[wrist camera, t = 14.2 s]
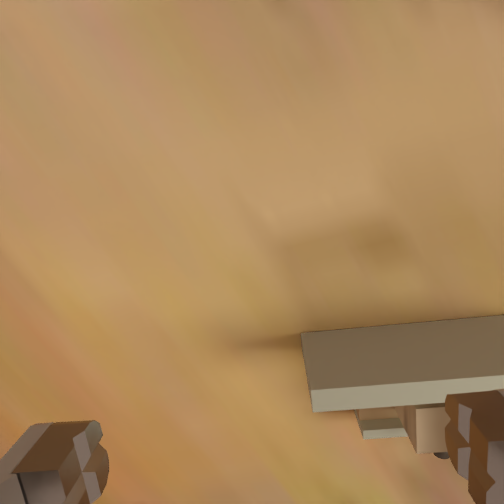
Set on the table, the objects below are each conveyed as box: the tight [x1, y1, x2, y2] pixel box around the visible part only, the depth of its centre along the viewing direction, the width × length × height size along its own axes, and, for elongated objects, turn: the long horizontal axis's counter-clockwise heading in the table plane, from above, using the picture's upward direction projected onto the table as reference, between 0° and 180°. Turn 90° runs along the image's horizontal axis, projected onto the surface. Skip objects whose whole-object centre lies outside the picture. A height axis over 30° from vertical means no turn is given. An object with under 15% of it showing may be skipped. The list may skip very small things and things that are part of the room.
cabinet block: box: [395, 403, 451, 459], centre depth 35 cm, size 5×5×6 cm
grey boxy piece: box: [301, 315, 504, 439], centre depth 36 cm, size 22×10×10 cm, turn 97°
